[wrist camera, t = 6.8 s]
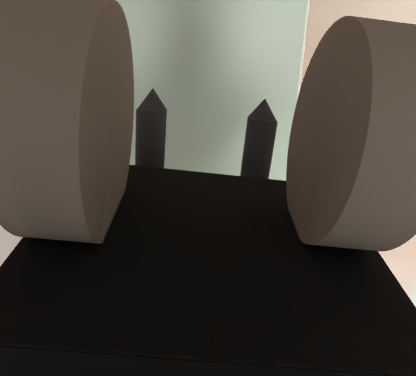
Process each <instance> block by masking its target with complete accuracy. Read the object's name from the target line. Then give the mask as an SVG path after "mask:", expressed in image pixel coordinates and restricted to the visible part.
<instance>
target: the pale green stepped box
mask: <svg viewBox="0 0 416 376" xmlns="http://www.w3.org/2000/svg"><path fill="white" fill-rule="evenodd" d="M116 1H117V2H118V3H119V4H120V5H121V7H122V9H123V11H124V14H125V17H126V20H127V24H128V28H129V33H130V40H131V47H132V57H133V72H134V117H133V134H132V146H131V156H130V164H129V165H135V143H136V109H137V108H138V107H139V106H140V104H141V103H142V102H143V100H144V99H145V98H146V96H147V95H148V94H149V92H150V91H151V90H152V88H153V89H154V90H155V92H156V93H157V95H158V96H159V98H160V100H161V101H162V103H163V104H164V106H165V107H166V109H167V120H166V141H165V162H164V168H167V169H177V170H187V171H196V172H206V173H216V174H225V175H235V176H240V172H241V164H242V157H243V149H244V141H245V133H246V126H247V117H248V116H249V115H250V114H251V113H252V112H253V111H254V110H255V109H256V107H257V106H258V105H259V104H260V103H261V102H262V101H263V100H264V99H266V101H267V103H268V105H269V107H270V109H271V111H272V113H273V115H274V117H275V118H276V120H277V121H278V124H277V130H276V136H275V142H274V149H273V155H272V161H271V167H270V173H269V179H274V180H284V181H286V169H287V155H288V146H289V138H290V132H291V126H292V121H293V116H294V111H295V107H296V103H297V99H298V96H299V92H300V85H301V76H302V67H303V58H304V49H305V40H306V31H307V23H308V14H309V5H310V0H116Z"/></svg>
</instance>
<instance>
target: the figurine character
mask: <svg viewBox="0 0 416 376" xmlns="http://www.w3.org/2000/svg"><path fill="white" fill-rule="evenodd" d="M133 117H134V72H133V57H132V47H131V40H130V33H129V28H128V24H127V20H126V17H125V14H124V11H123V9H122V7H121V5H120V4H119V3H118V2H117V1H116V0H0V225H1V226H2V227H3V228H4V229H5V230H7V231H8V232H9V233H11V234H13V235H16V236H20V237H23V238H22V239H21V241H20V242H19V243H18V244H17V246H16V247H15V248H14V250H13V251H12V252H11V253H10V255H9V256H8V257H7V259H6V260H5V261H4V263H3V264H2V265H1V266H0V376H416V307H415V306H414V304H413V303H412V301H411V300H410V298H409V297H408V295H407V294H406V292H405V291H404V289H403V288H402V287H401V285H400V284H399V282H398V281H397V279H396V278H395V276H394V275H393V273H392V272H391V270H390V269H389V267H388V266H387V264H386V263H385V261H384V260H383V258H382V257H381V255H380V254H379V252H378V251H387V250H391V249H394V248H397V247H399V246H401V245H402V244H404V243H406V242H407V241H408V240H410V239H411V238H412V237H413V236H414V235H415V234H416V25H415V24H407V23H400V22H392V21H384V20H377V19H369V18H361V17H354V16H345V17H342V18H340V19H339V20H337V21H336V22H335V23H334V24H333V25H332V26H331V27H330V28H329V29H328V30H327V32H326V33H325V35H324V36H323V38H322V39H321V41H320V43H319V44H318V46H317V48H316V50H315V52H314V54H313V56H312V59H311V61H310V63H309V66H308V68H307V71H306V73H305V76H304V79H303V82H302V85H301V89H300V92H299V96H298V99H297V103H296V107H295V111H294V116H293V121H292V126H291V132H290V138H289V146H288V155H287V169H286V181H284V180H274V179H269V173H270V167H271V161H272V155H273V149H274V142H275V136H276V130H277V124H278V121H277V120H276V118H275V117H274V115H273V113H272V111H271V109H270V107H269V105H268V103H267V101H266V99H264V100H263V101H262V102H261V103H260V104H259V105H258V106H257V107H256V109H255V110H254V111H253V112H252V113H251V114H250V115H249V116H248V117H247V126H246V133H245V141H244V149H243V157H242V164H241V172H240V176H235V175H225V174H216V173H206V172H196V171H187V170H177V169H167V168H164V162H165V141H166V120H167V109H166V107H165V106H164V104H163V103H162V101H161V100H160V98H159V96H158V95H157V93H156V92H155V90H154V89H153V88H152V90H151V91H150V92H149V94H148V95H147V96H146V98H145V99H144V100H143V102H142V103H141V104H140V106H139V107H138V108H137V109H136V143H135V165H129V164H130V156H131V146H132V134H133Z"/></svg>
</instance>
